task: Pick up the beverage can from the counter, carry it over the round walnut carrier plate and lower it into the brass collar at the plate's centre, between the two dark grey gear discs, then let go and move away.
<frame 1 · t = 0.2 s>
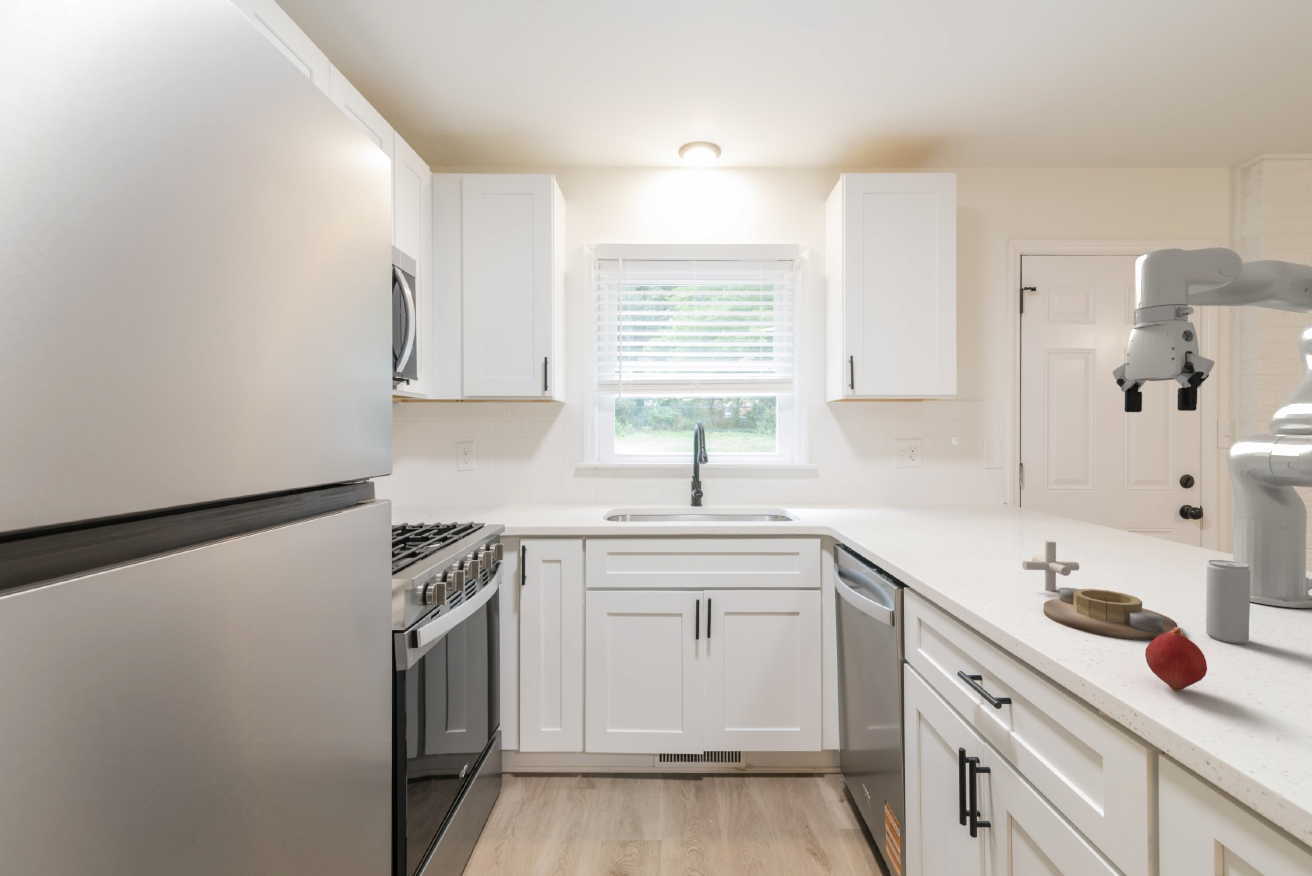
hand: (1158, 411, 105), 36 cm above the countertop, tool pointing down, fingers open, 9 cm apart
beverage can: (1227, 640, 89), on the countertop
pipe connector: (1050, 590, 116), on the countertop
onion: (1175, 690, 72), on the countertop
carrier: (1106, 620, 98), on the countertop
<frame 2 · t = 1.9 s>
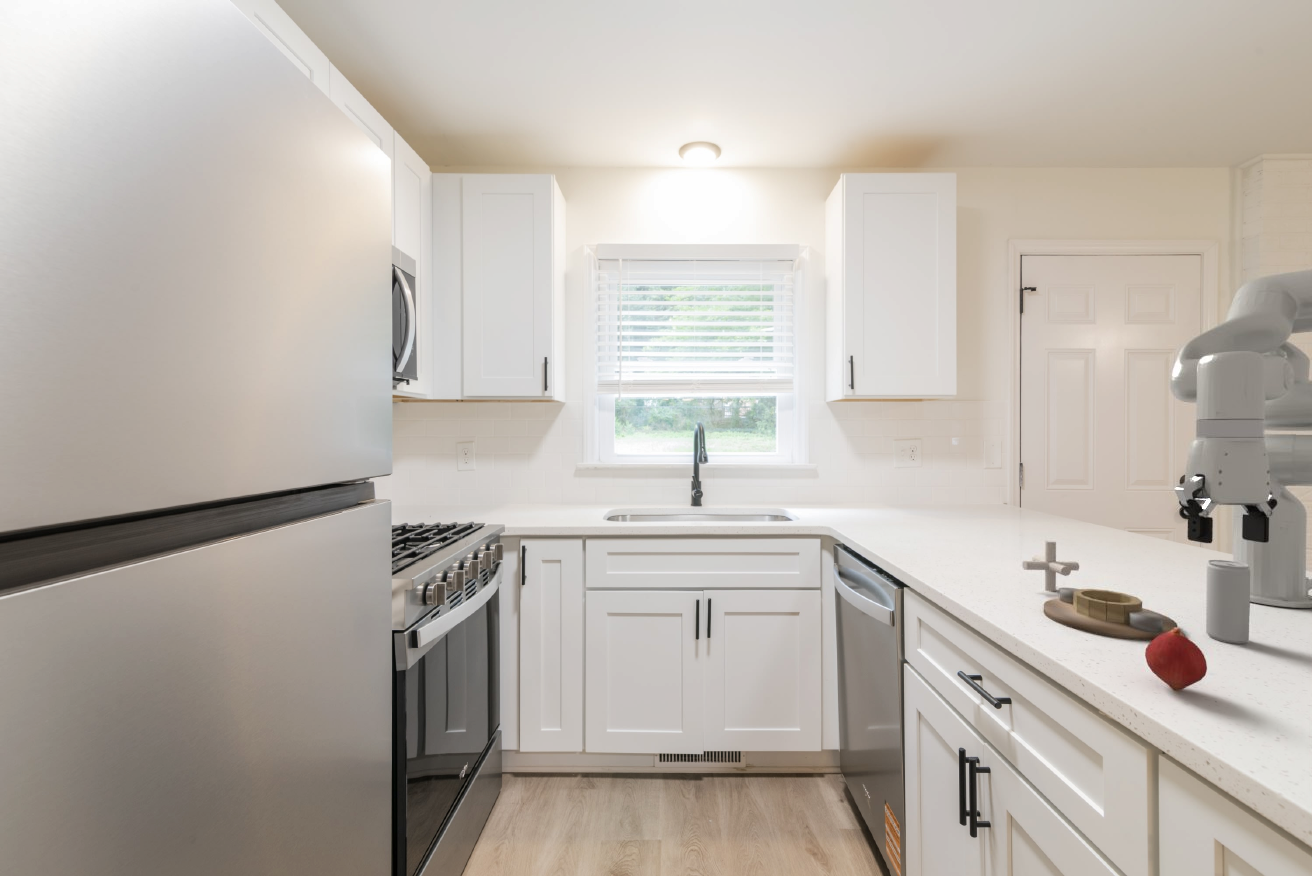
hand: (1227, 541, 88), 15 cm above the countertop, tool pointing down, fingers open, 9 cm apart
nothing on the countertop moved.
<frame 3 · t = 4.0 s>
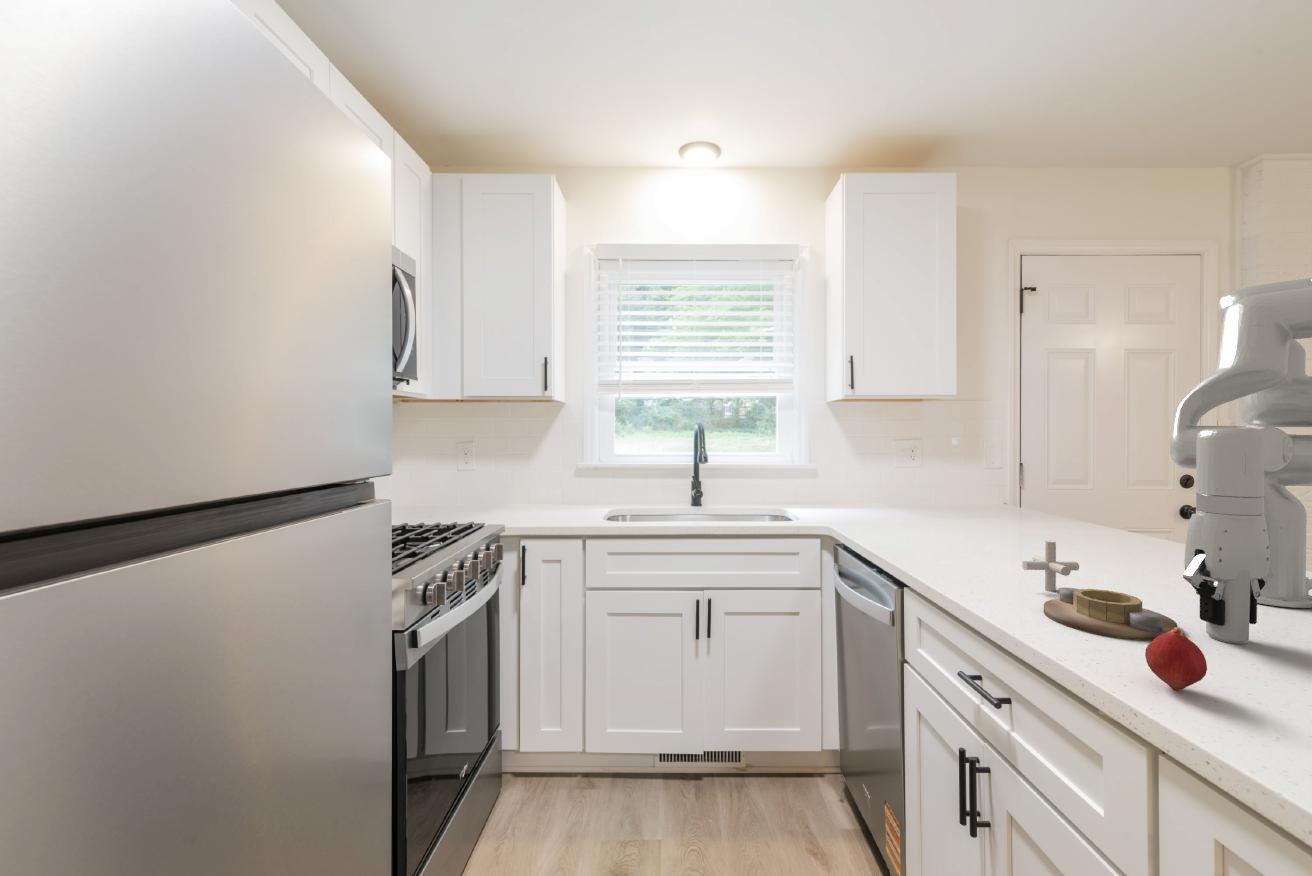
hand: (1227, 620, 89), 3 cm above the countertop, tool pointing down, fingers closed on beverage can, 4 cm apart
beverage can: (1227, 640, 89), on the countertop, touching gripper
everything else where it was.
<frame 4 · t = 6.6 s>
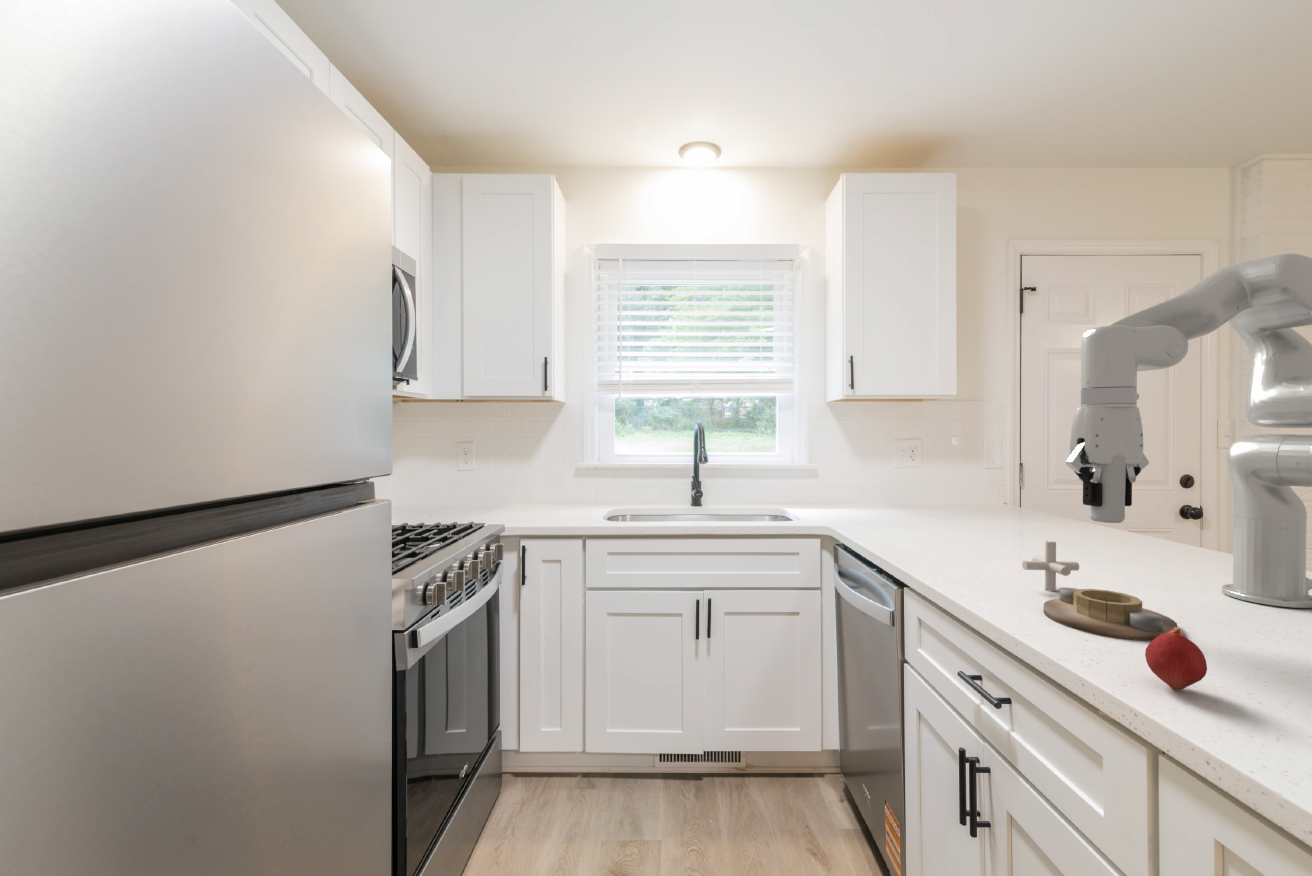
hand: (1106, 504, 97), 20 cm above the countertop, tool pointing down, fingers closed on beverage can, 4 cm apart
beverage can: (1106, 522, 97), point 17 cm above the countertop, touching gripper
everything else where it was.
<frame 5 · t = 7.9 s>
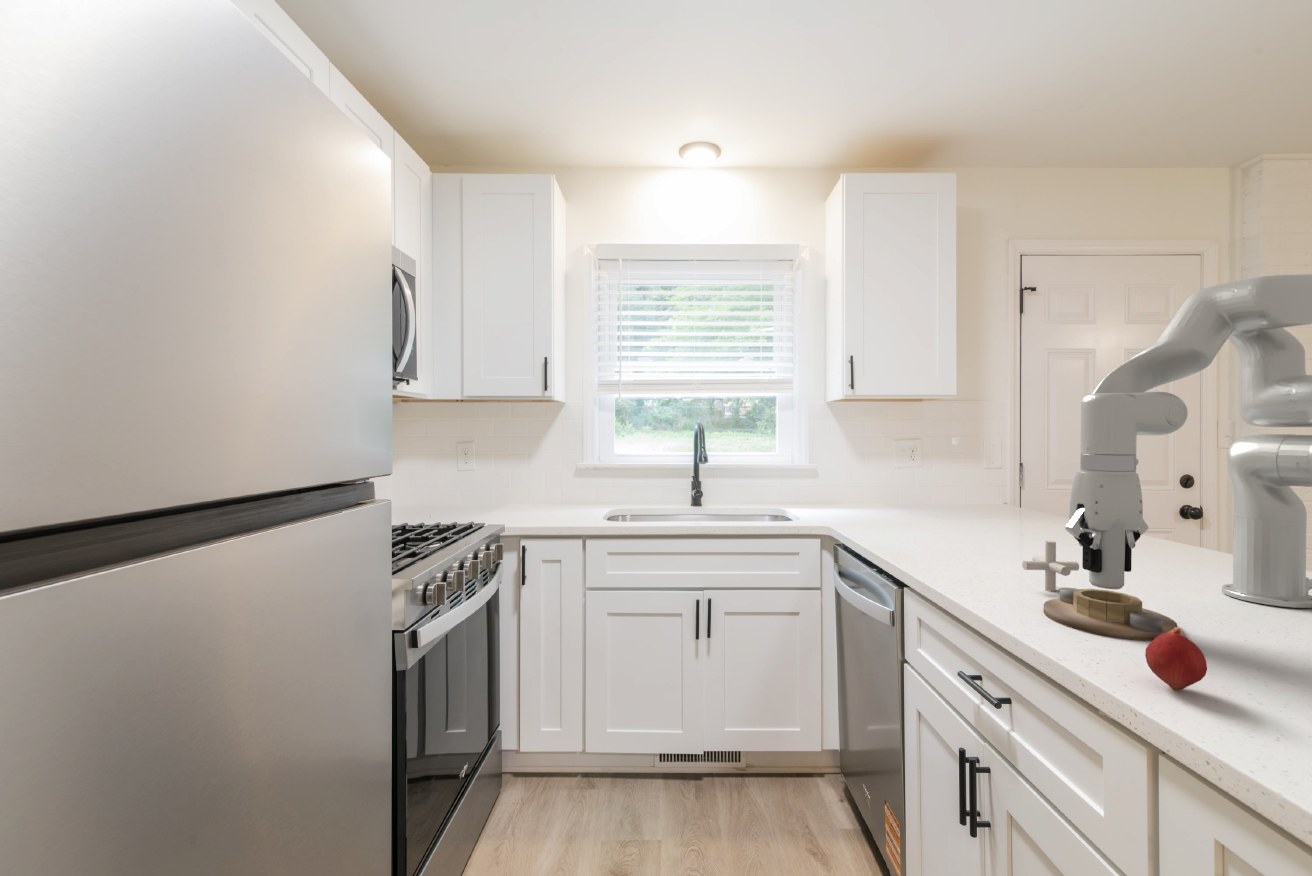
hand: (1106, 569, 98), 9 cm above the countertop, tool pointing down, fingers closed on beverage can, 4 cm apart
beverage can: (1106, 587, 98), point 6 cm above the countertop, touching gripper
everything else where it was.
when the fingers open (6 cm above the countertop, at t = 9.1 s): beverage can drops 2 cm, resting on carrier.
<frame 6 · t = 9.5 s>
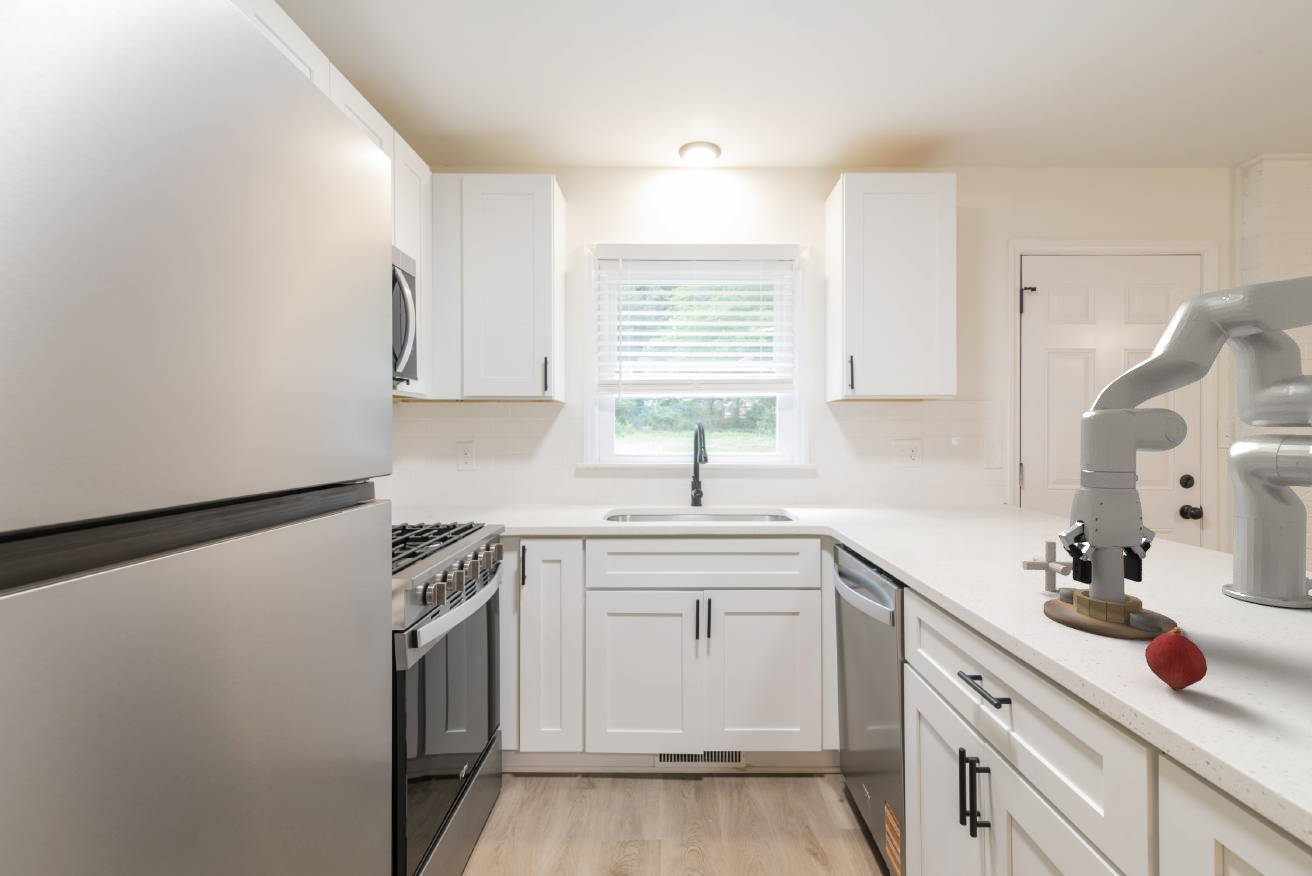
hand: (1106, 580, 98), 7 cm above the countertop, tool pointing down, fingers open, 9 cm apart
beverage can: (1107, 614, 98), point 1 cm above the countertop, touching carrier
everything else where it was.
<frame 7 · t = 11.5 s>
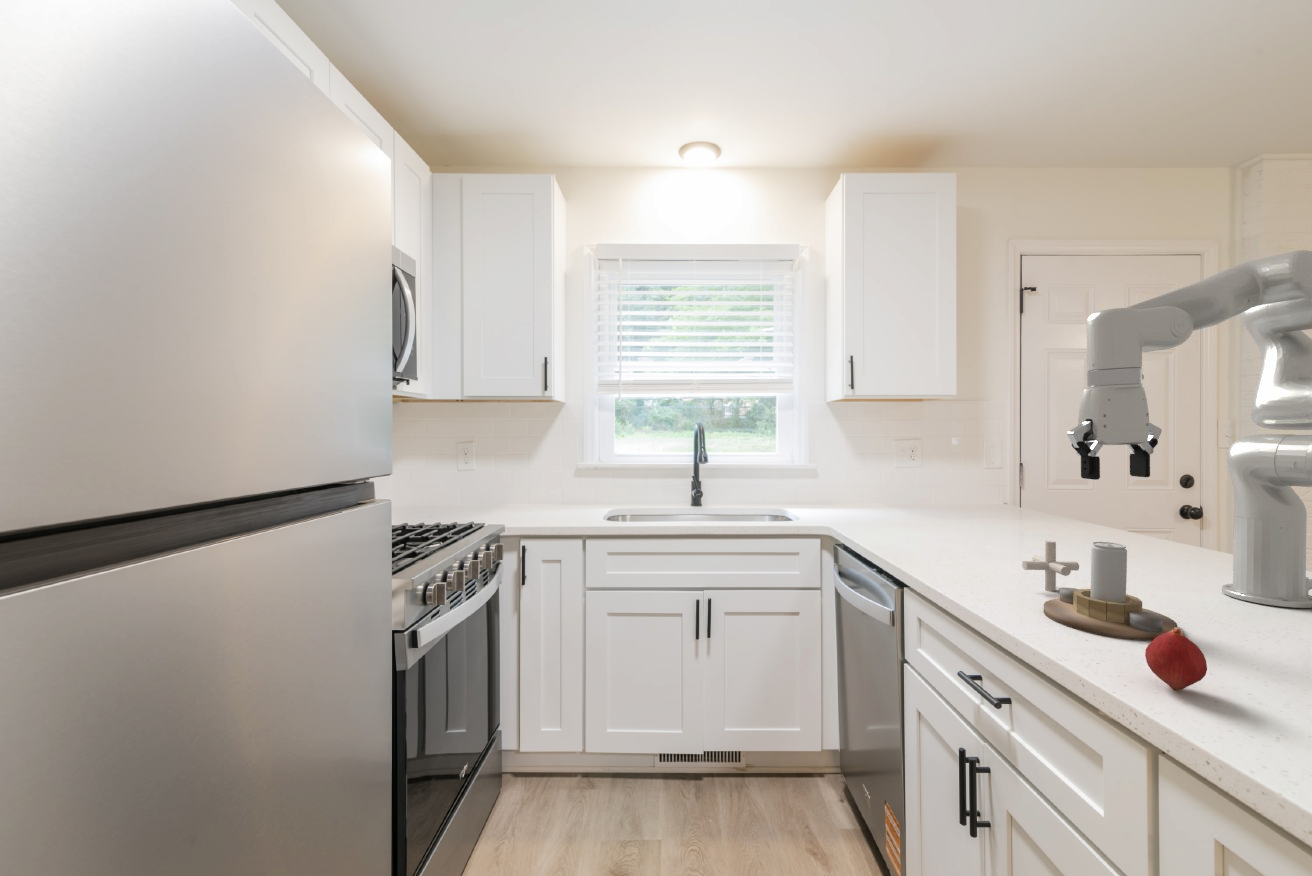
hand: (1115, 477, 100), 24 cm above the countertop, tool pointing down, fingers open, 9 cm apart
nothing on the countertop moved.
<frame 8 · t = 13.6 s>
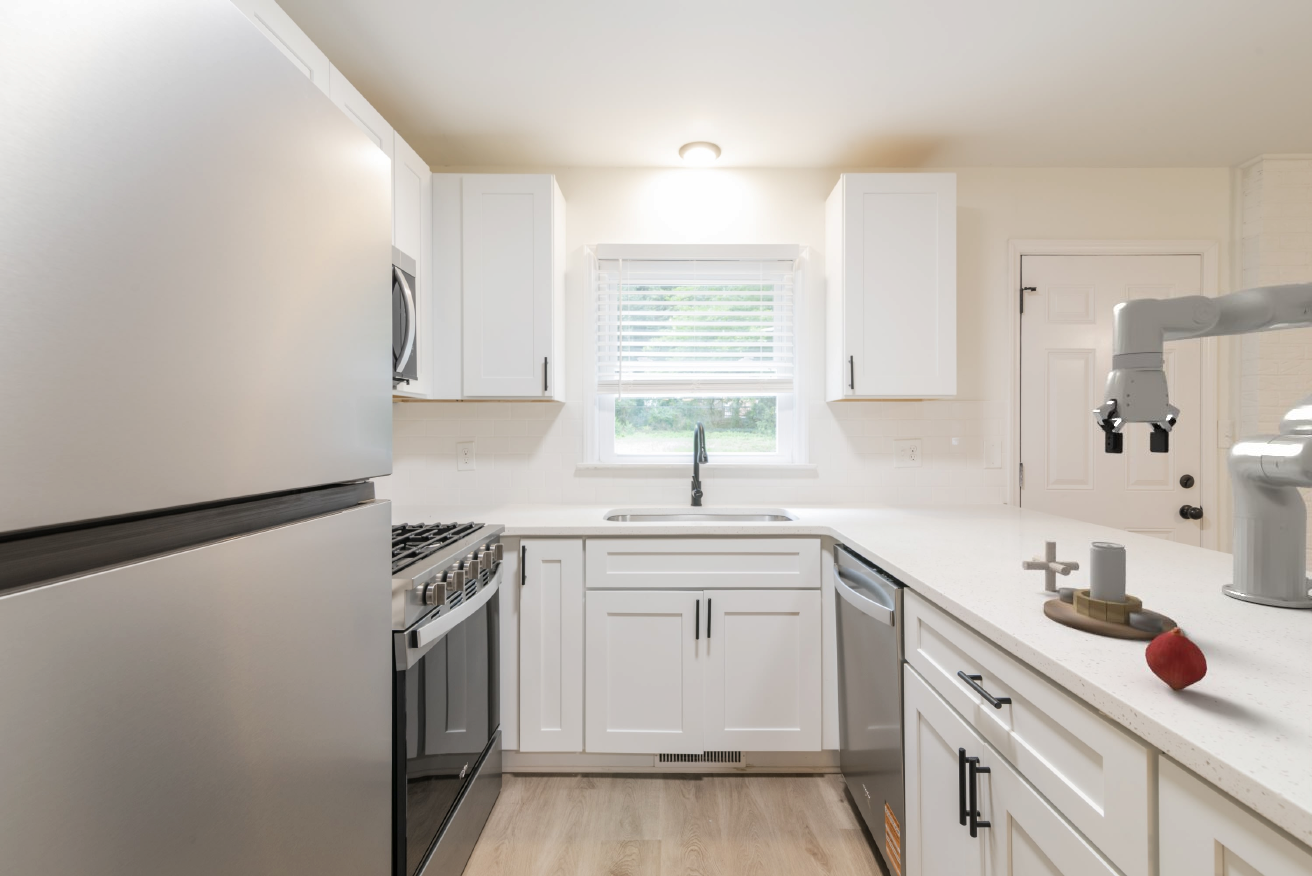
hand: (1136, 452, 110), 28 cm above the countertop, tool pointing down, fingers open, 9 cm apart
nothing on the countertop moved.
at the end: beverage can 0.1 cm off-centre on the carrier, point 1.0 cm above the carrier's base; beverage can tilted 0°; the gripper is holding nothing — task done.
